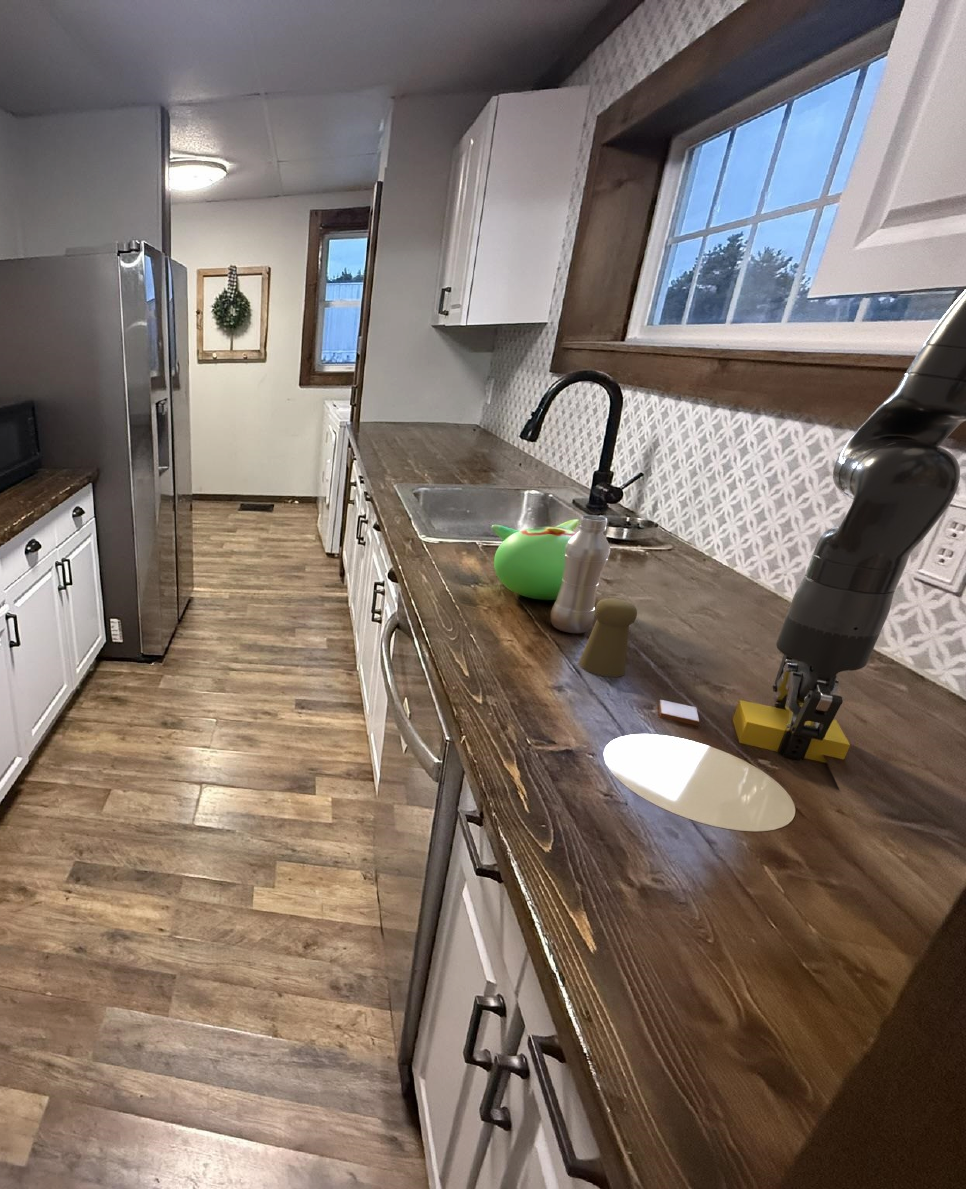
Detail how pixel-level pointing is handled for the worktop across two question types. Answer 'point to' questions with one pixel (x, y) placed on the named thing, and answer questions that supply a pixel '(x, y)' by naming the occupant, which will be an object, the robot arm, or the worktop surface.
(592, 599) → the plastic bottle
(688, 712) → the brown wooden tile
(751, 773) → the plate
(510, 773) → the worktop surface
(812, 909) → the worktop surface
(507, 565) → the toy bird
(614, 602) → the cork
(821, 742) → the sponge
